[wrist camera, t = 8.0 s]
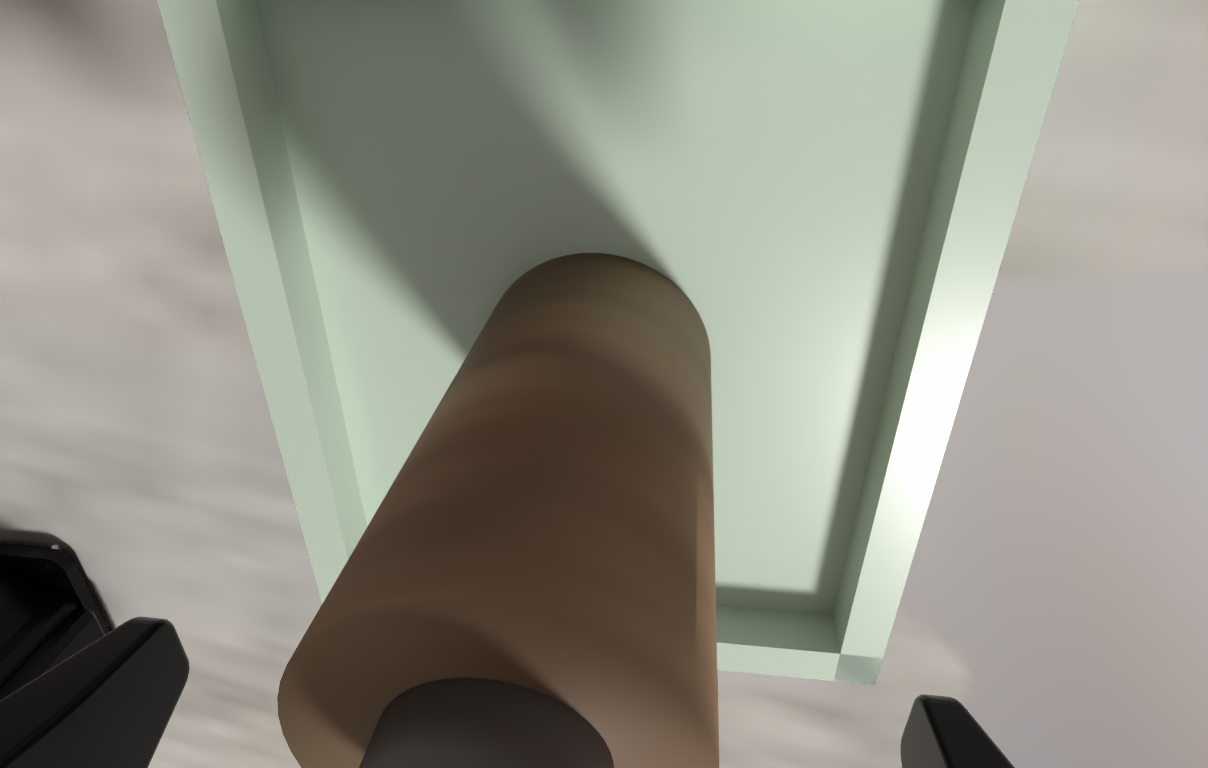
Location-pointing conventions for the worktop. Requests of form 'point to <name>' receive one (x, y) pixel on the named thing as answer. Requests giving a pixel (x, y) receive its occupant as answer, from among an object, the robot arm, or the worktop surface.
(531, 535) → the pepper mill
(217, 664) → the worktop surface
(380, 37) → the tray
